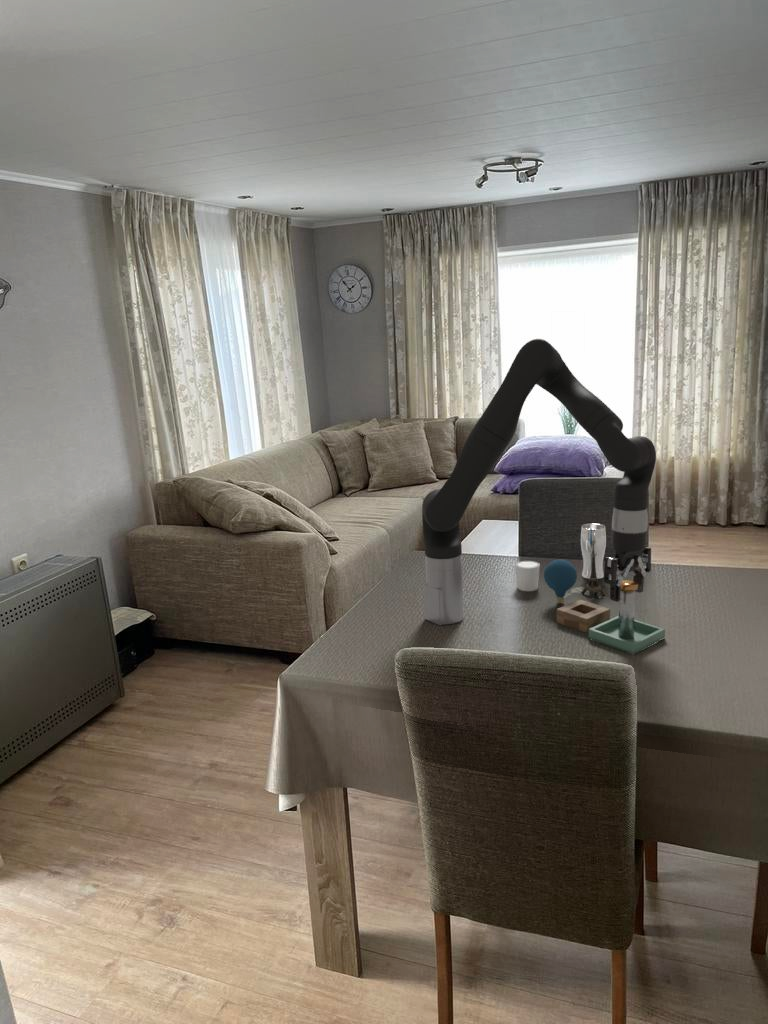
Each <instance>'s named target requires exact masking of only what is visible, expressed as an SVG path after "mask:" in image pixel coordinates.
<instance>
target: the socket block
mask: <svg viewBox="0 0 768 1024" xmlns="http://www.w3.org/2000/svg"><path fill="white" fill-rule="evenodd" d="M610 619H611V608H608V607H605V606H602V605H599V604H596V603H592V602H589V601H586V600H582V599H578V600H575V601H573V602H570V603H568V604H566V605H563V606H561V607H559V608H556V623H558V624H561V625H563V626H565V627H569V628H571V629H574V628H575V630H577V631H580V632H583V633H586V632H587V633H589V629H590V628H592V627H594V626H597V625H599V624H601V623H603V622H606V621H608V620H610Z"/></svg>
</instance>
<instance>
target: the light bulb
mask: <svg viewBox="0 0 768 1024" xmlns="http://www.w3.org/2000/svg"><path fill="white" fill-rule="evenodd" d="M543 572H544V573H543V578H544V581H545V584H546V585H547V586H548V587H549V588H550V589H552V591H554V594H555V596H556V602H557V603H558V604H563V603H564V602H565V598H564V596H565V593H567V592H568V591H569V590H570V589H572V588H573V587H574V585H575V583H576V582H577V578H578V573H577V569H576V568H575V565H574V564H573V563H571V562H570V561H568V560H566V559H564V558H563V559H562V558H561V559H560V558H559V559H554V560H552V561H550V562H549V563H548V564H547V565H546V567H545V569H544V571H543Z"/></svg>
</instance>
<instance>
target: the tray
mask: <svg viewBox="0 0 768 1024" xmlns="http://www.w3.org/2000/svg"><path fill="white" fill-rule="evenodd" d="M618 633H619V615H617V616H615V617H612V618H610V620H608V621H606V622H603V623H601V624H599V625H597V626H594V627H592V628H590V629H589V632H588V640H590V639H592V640H591V641H593V640H594V642H596V641H597V643H598V642H600V643H599V644H601V643H603V644H602V645H604V644H605V645H604V646H607V645H608V647H610V648H612V647H613V649H615V648H616V649H615V650H618V649H619V650H618V651H621V650H622V651H621V652H623V651H625V652H624V653H626V652H628V653H627V654H629V653H631V654H630V655H632V654H635V653H637V652H639V651H641V650H642V649H644V648H646V647H648V646H650V645H652V644H654V643H655V642H657V641H659V640H660V639H662V638H664V637H666V629H665V628H663V627H659V626H656V625H653V624H649V623H646V622H644V621H641V620H637V619H634V638H633V639H631V640H624V639H621V638H619V637H618ZM641 652H642V651H641ZM639 653H640V652H639ZM637 654H638V653H637ZM635 655H636V654H635Z"/></svg>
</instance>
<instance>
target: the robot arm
mask: <svg viewBox="0 0 768 1024" xmlns="http://www.w3.org/2000/svg"><path fill="white" fill-rule="evenodd" d="M535 386H539V387H541V389H543V390H544V391H546V392H547V393H549V394H550V395H552V396H553V397H555V399H557V400H558V401H559V402H560V404H562V405H563V406H564V407H565V409H566V410H567V411H568V413H570V415H571V416H572V418H573V419H574V420H575V421H576V422H577V423H578V424H579V425H580V426H581V427H582V429H584V431H585V432H586V433H587V434H589V436H590V437H592V439H593V440H595V441H596V443H597V445H598V447H599V449H600V451H601V453H602V454H603V456H604V457H605V459H606V461H607V462H608V463H609V464H610V466H611V467H613V468H615V469H616V470H618V471H620V472H623V476H622V478H621V479H620V480H618V482H617V483H615V485H614V490H613V491H614V493H613V510H612V511H613V512H612V519H611V538H610V539H611V542H610V546H611V547H612V549H614V552H615V553H614V556H613V557H609V556H606V557H605V558H604V566H603V567H604V568H603V574H604V577H603V578H602V580H603V583H604V584H607V585H609V590H610V591H609V599H610V600H611V601H613V602H618V603H619V601H620V594H621V586H620V585H621V582H622V581H623V580H624V579H625V578H627V576H628V574H629V573H631V572H633V574H634V575H633V578H632V579H633V580H632V581H634V582H636V583H638V589H637V590H635V593H639V594H641V593H643V592H644V582H645V577H646V576H647V573H650V572H651V570H652V548H651V547H648V545H647V544H648V527H649V526H648V525H649V514H648V502H649V501H648V500H649V499H648V498H649V496H648V495H649V488H650V487H649V486H650V484H651V481H652V477H653V473H654V470H655V468H656V467H655V466H656V461H657V451H656V447H655V445H654V442H652V440H651V439H650V438H648V437H646V436H641V435H640V436H633V437H629V438H628V437H627V436H626V435H625V434H624V433H623V429H624V423H623V421H622V419H621V418H620V417H619V415H617V414H616V413H615V412H614V411H613V410H612V409H611V408H610V407H609V406H608V405H607V404H606V403H605V402H603V400H601V399H600V397H598V396H596V395H595V394H594V393H593V392H591V391H590V390H589V388H587V387H585V386H584V385H583V384H582V382H580V381H579V380H578V378H577V377H576V376H575V375H574V374H573V372H571V370H570V369H569V367H568V366H567V364H566V362H565V361H564V360H563V358H562V356H561V354H560V353H559V351H558V350H557V349H556V348H555V347H554V346H553V345H552V344H551V343H549V341H547V340H546V339H543V338H534V339H531V340H529V341H527V342H526V343H525V344H524V345H523V346H522V347H521V348H519V351H518V352H517V354H516V356H515V357H514V359H513V361H512V363H511V365H510V368H509V369H508V370H507V373H506V375H505V377H504V378H503V381H502V382H501V385H500V386H499V388H498V389H497V391H496V393H495V394H494V395H493V398H492V399H491V400H490V402H489V403H488V405H487V406H486V408H485V410H484V411H483V413H482V414H481V416H480V417H479V419H478V420H477V421H476V423H475V425H474V426H473V428H472V429H471V430H470V433H469V434H468V436H467V437H466V439H465V441H464V443H463V445H462V448H461V450H460V452H459V454H458V455H459V456H457V457H458V458H457V461H456V463H455V465H454V467H453V470H452V472H451V474H450V475H449V477H448V479H447V480H446V481H445V482H444V484H443V485H442V487H441V488H437V489H434V490H432V491H429V492H428V493H427V494H426V496H425V497H424V499H423V502H422V506H421V515H422V516H421V517H422V534H423V536H422V537H423V546H424V558H425V559H424V561H425V583H424V584H423V585H422V587H423V589H422V592H423V608H424V611H423V612H424V619H425V620H426V621H429V622H431V623H433V624H436V625H438V626H442V625H443V626H444V625H451V624H457V623H460V622H461V621H463V620H464V617H465V616H464V615H465V612H464V590H463V589H464V585H463V583H464V582H463V578H464V577H463V556H462V555H463V552H462V551H463V550H462V547H463V546H462V539H461V532H460V522H461V520H462V519H463V516H464V514H465V512H466V510H467V508H468V507H469V504H470V503H471V500H472V499H473V497H474V495H475V494H476V491H477V490H478V488H479V487H480V485H481V484H482V483H483V481H484V480H485V479H486V478H487V476H488V475H489V473H490V472H491V471H492V469H493V468H494V467H495V465H496V464H497V462H498V460H499V459H500V458H501V456H502V455H503V453H504V451H505V450H506V449H507V447H508V445H509V444H510V443H511V441H512V439H513V437H514V436H515V434H516V430H517V427H518V424H519V420H520V416H521V413H522V409H523V406H524V404H525V402H526V400H527V398H528V396H529V395H530V394H531V392H532V391H533V389H534V387H535ZM644 563H645V564H644ZM618 570H619V571H618ZM617 577H618V578H617Z"/></svg>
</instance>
